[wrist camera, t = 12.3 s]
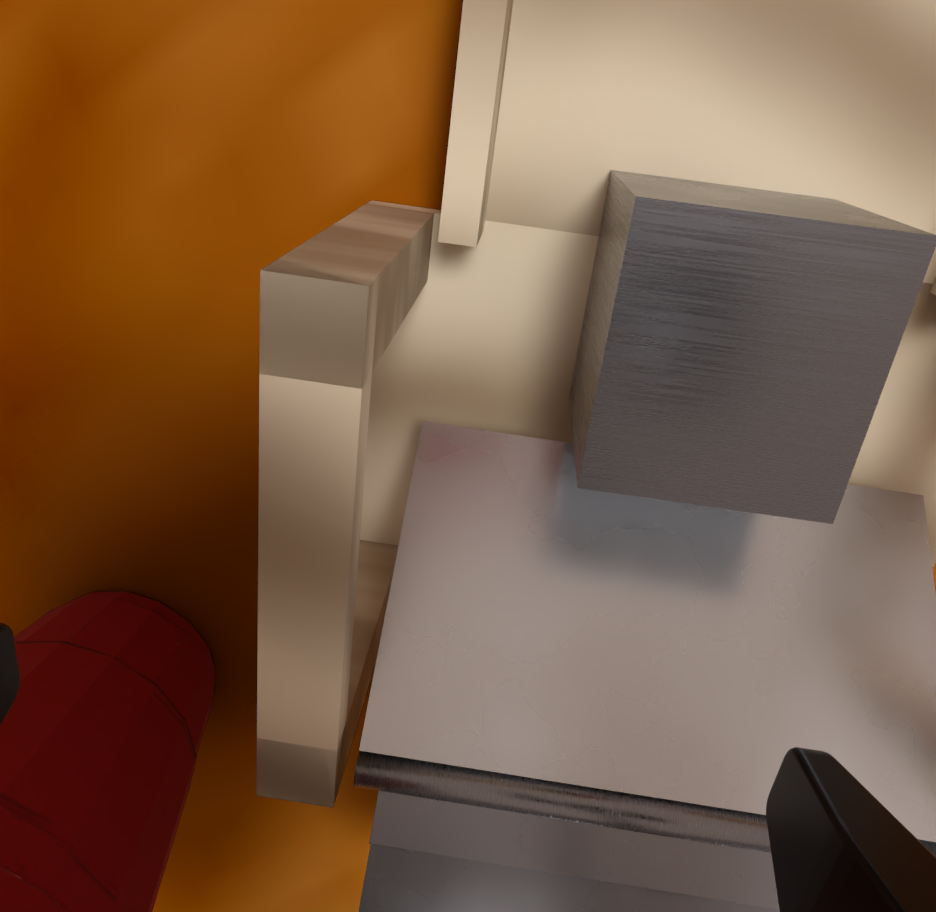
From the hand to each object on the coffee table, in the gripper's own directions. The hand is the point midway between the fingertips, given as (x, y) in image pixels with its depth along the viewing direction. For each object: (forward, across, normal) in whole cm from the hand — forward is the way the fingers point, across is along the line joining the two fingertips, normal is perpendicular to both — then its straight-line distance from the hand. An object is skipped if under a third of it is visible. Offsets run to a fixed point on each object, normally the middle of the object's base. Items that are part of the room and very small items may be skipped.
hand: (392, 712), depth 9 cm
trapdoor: (+9, -5, +9) cm, 14 cm away
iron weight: (+9, -5, 0) cm, 11 cm away
